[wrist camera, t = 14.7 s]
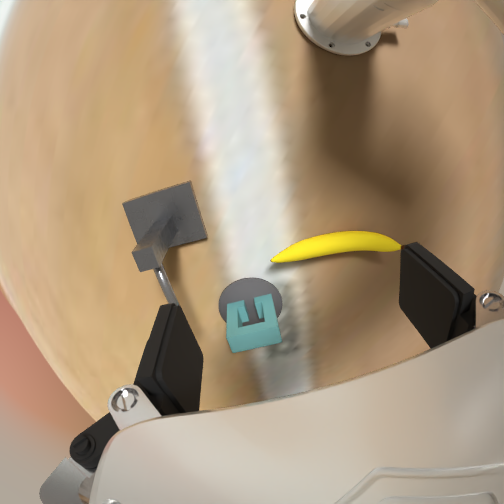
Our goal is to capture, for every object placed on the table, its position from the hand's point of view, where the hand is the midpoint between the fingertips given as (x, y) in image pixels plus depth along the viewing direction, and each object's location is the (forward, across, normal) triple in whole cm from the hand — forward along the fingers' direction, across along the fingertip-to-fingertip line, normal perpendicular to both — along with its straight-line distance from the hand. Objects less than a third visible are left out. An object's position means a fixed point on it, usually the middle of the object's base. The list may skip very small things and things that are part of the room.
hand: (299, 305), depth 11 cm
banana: (+28, -9, +11) cm, 32 cm away
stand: (+28, +13, +7) cm, 32 cm away
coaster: (+28, +5, +19) cm, 34 cm away
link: (+28, +5, +19) cm, 34 cm away
